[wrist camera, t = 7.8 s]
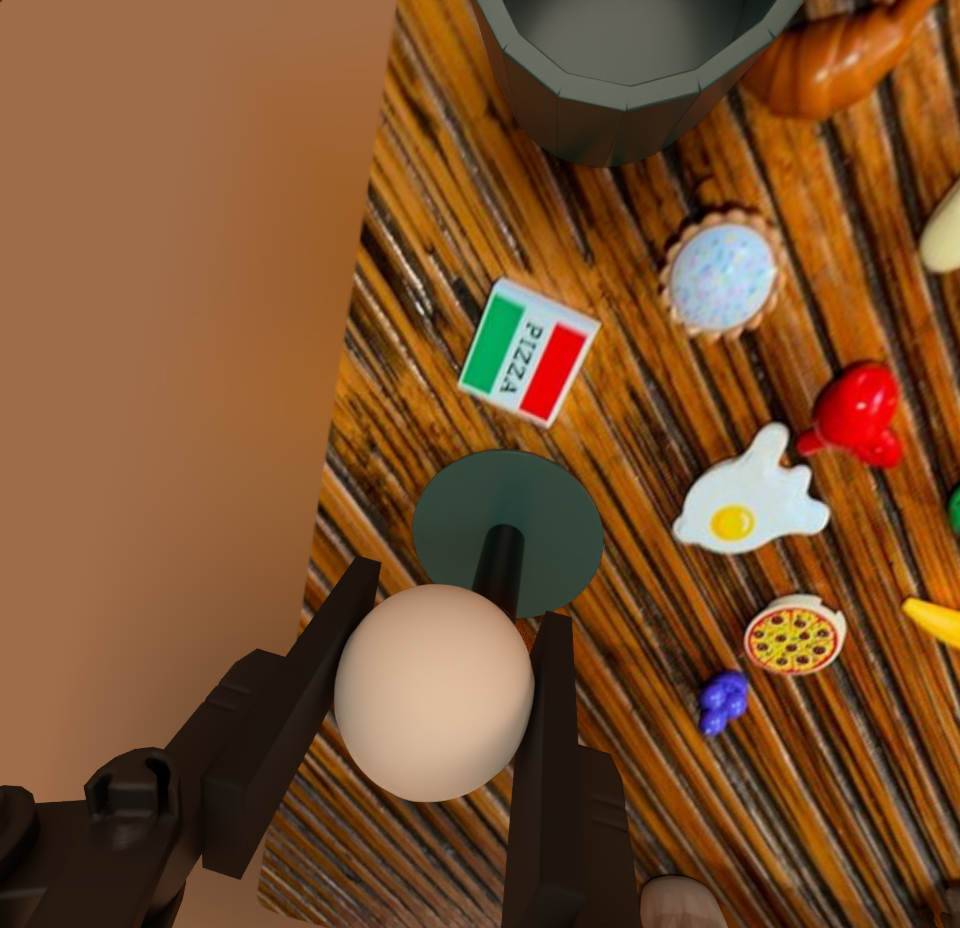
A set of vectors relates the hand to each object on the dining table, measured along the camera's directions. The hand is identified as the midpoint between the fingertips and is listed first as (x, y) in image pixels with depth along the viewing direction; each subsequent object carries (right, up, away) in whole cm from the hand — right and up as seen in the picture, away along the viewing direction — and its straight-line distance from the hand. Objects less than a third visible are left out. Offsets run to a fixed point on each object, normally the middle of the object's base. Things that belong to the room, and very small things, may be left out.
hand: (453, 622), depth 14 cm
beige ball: (0, 0, 0) cm, 1 cm away
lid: (+3, 0, +17) cm, 17 cm away
